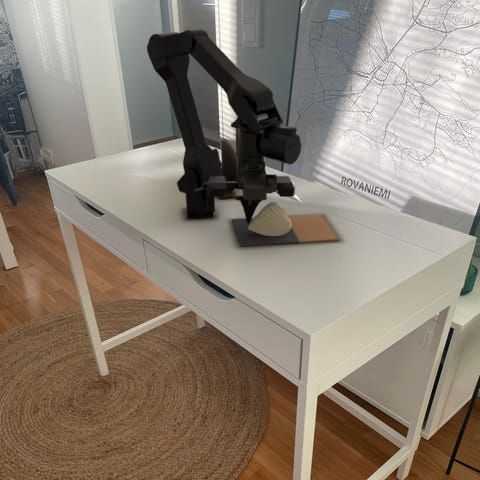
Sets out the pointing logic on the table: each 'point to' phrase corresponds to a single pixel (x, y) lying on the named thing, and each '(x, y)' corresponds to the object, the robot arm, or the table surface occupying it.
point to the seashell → (271, 221)
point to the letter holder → (229, 162)
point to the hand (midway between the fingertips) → (248, 223)
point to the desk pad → (300, 232)
